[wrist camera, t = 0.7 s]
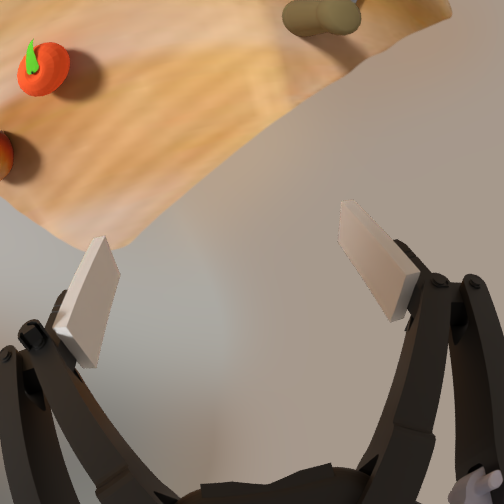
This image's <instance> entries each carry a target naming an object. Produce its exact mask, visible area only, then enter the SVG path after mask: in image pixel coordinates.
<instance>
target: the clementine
mask: <svg viewBox="0 0 504 504" xmlns="http://www.w3.org/2000/svg"><path fill="white" fill-rule="evenodd" d="M33 40H34V39H33ZM33 40H32V41H31V42H30V44H29V46H28V49H27V54H26V55H25V56H24V58H23V60H22V61H21V63H20V65H19V68H18V74H17V78H18V83H19V86H20V88H21V89H22V90H23V91H24V92H25V93H27V94H28V95H31V96H35V97H36V96H44V95H47V94H50V93H51V92H53V91H54V90H56V89H57V88H58V87H59V86H60V85H61V84H62V83H63V81H64V80H65V78H66V77H67V74H68V71H69V67H70V59H69V55H68V52H67V51H66V50H65V48H64V47H62V46H61V45H59V44H57V43H52V42H48V43H43V44H40V45H38V46H35V47H34V48H33Z"/></svg>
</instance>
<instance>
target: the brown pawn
mask: <svg viewBox="0 0 504 504" xmlns="http://www.w3.org/2000/svg"><path fill="white" fill-rule="evenodd" d="M282 18H283V22H284V25H285V27H286V28H287V29H288V30H289V31H290V32H291V33H293V34H295V35H297V36H301V37H308V36H313V35H317V34H321V33H326V32H329V33H332V34H335V35H348V34H351V33H353V32H354V31H356V30H357V29H358V27H359V25H360V23H361V13H360V10H359V8H358V7H357V5H356V4H355V3H354V2H353V1H351V0H294V1H291V2H290V3H288V4H287V5H286V7H285V8H284V10H283V14H282Z"/></svg>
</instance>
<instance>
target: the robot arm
mask: <svg viewBox="0 0 504 504" xmlns="http://www.w3.org/2000/svg"><path fill="white" fill-rule="evenodd" d="M338 243H339V245H340V246H341V248H342V249H343V251H344V252H345V254H346V255H347V257H348V258H349V259H350V261H351V262H352V264H353V265H354V267H355V268H356V270H357V271H358V273H359V274H360V276H361V277H362V279H363V280H364V282H365V283H366V285H367V287H368V288H369V290H370V291H371V293H372V294H373V296H374V297H375V299H376V301H377V302H378V304H379V305H380V307H381V308H382V310H383V312H384V313H385V315H386V317H387V318H388V320H389V322H393V321H396V320H400V319H403V318H404V316H405V313H406V311H407V309H408V311H409V312H410V314H411V316H410V319H409V321H408V324H407V326H406V328H405V331H406V336H405V340H404V344H403V348H402V352H401V355H400V359H399V362H398V366H397V369H396V373H395V376H394V379H393V383H392V386H391V389H390V392H389V395H388V398H387V401H386V404H385V406H384V409H383V412H382V415H381V417H380V420H379V423H378V426H377V428H376V430H375V433H374V435H373V438H372V440H371V442H370V445H369V447H368V449H367V451H366V452H365V454H364V455H363V457H362V459H361V461H360V462H359V464H358V466H357V469H356V470H354V469H350V468H343V467H332V465H331V463H328V464H324V465H320V466H317V467H313V468H309V469H305V470H300V471H298V472H296V473H294V474H291V475H289V476H287V477H285V478H283V479H280V480H278V481H276V482H273V483H271V484H266V485H263V484H250V483H239V482H224V483H210V484H200V485H201V489H199V490H196V491H194V492H191V493H189V494H187V495H186V496H184V497H182V498H179V497H178V496H177V495H176V494H175V493H174V492H173V491H172V490H171V489H169V488H168V487H167V486H166V485H164V484H163V483H162V482H161V481H160V480H159V479H158V478H157V477H156V476H155V475H154V474H153V473H152V472H151V471H150V470H149V469H148V467H147V466H146V465H145V464H144V463H143V462H142V461H141V459H140V458H139V457H138V456H137V455H136V453H135V452H134V451H133V450H132V449H131V447H130V446H129V445H128V444H127V442H126V441H125V440H124V439H123V437H122V436H121V435H120V434H119V432H118V431H117V429H116V428H115V427H114V425H113V424H112V423H111V421H110V420H109V419H108V417H107V416H106V414H105V413H104V411H103V410H102V409H101V407H100V406H99V404H98V403H97V401H96V400H95V398H94V397H93V395H92V393H91V392H90V390H89V389H88V387H87V386H86V384H85V382H84V381H83V379H82V377H81V376H80V374H79V372H78V371H77V370H76V368H75V365H76V361H77V362H78V363H79V364H80V366H81V367H82V368H97V363H98V358H99V353H100V349H101V345H102V341H103V336H104V332H105V328H106V324H107V320H108V317H109V313H110V309H111V306H112V302H113V298H114V295H115V292H116V288H117V285H118V281H119V278H120V272H119V270H118V267H117V265H116V263H115V260H114V257H113V255H112V252H111V250H110V247H109V244H108V242H107V239H106V236H101V237H95V238H93V240H92V242H91V244H90V246H89V247H88V249H87V251H86V253H85V255H84V257H83V259H82V261H81V263H80V265H79V267H78V269H77V271H76V273H75V275H74V278H73V280H72V282H71V284H70V286H69V289H68V290H64V291H63V292H62V293H61V294H60V295H59V297H58V298H57V300H56V303H55V305H54V307H53V309H52V313H51V314H50V316H49V319H48V321H47V323H46V326H45V328H44V327H43V326H42V324H41V323H40V322H39V320H36V319H33V320H30V321H28V322H26V323H25V324H24V325H23V326H22V327H21V329H20V330H19V333H18V339H19V341H20V342H21V343H22V344H23V346H24V347H25V348H26V349H24V350H22V351H19V352H18V351H17V350H16V349H15V347H14V346H12V345H9V346H6V347H4V348H3V349H2V350H1V351H0V440H1V447H2V453H3V459H4V465H5V470H6V475H7V479H8V483H9V487H10V491H11V495H12V499H13V502H14V504H80V502H79V500H78V498H77V495H76V493H75V490H74V488H73V485H72V482H71V480H70V477H69V474H68V471H67V468H66V465H65V462H64V459H63V455H62V452H61V449H60V445H59V441H58V438H57V434H56V430H55V426H54V421H53V417H52V413H51V409H52V412H53V413H54V416H55V418H56V419H57V422H58V424H59V425H60V427H61V430H62V431H63V433H64V435H65V437H66V439H67V441H68V442H69V444H70V446H71V448H72V449H73V451H74V453H75V454H76V456H77V458H78V459H79V461H80V463H81V464H82V465H83V467H84V469H85V470H86V472H87V473H88V475H89V476H90V478H91V479H92V481H93V482H94V484H95V485H96V488H97V489H96V491H95V493H96V496H97V498H98V499H99V501H100V502H101V504H421V503H419V502H417V501H416V498H417V496H418V493H419V491H420V488H421V485H422V483H423V480H424V477H425V475H426V472H427V469H428V466H429V462H430V459H431V456H432V453H433V450H434V446H435V441H436V439H435V435H434V434H433V433H432V430H433V425H434V421H435V417H436V413H437V408H438V404H439V398H440V394H441V389H442V383H443V377H444V371H445V364H446V356H447V349H448V344H449V350H450V357H451V366H452V375H453V386H454V399H455V425H456V426H455V427H456V440H455V472H456V481H457V482H456V483H455V485H454V487H453V488H452V491H451V492H450V493H449V495H448V502H449V503H450V504H504V336H503V332H502V329H501V326H500V322H499V319H498V316H497V313H496V311H495V307H494V305H493V302H492V299H491V296H490V294H489V291H488V288H487V286H486V284H485V282H484V281H483V280H482V279H481V278H480V277H479V276H477V275H473V274H467V275H465V276H464V278H463V281H462V283H452V282H450V281H449V280H448V278H446V277H445V276H443V275H441V274H439V273H431V272H430V271H429V269H428V268H427V267H426V266H425V265H424V264H423V263H422V261H421V260H420V259H419V258H418V257H416V255H415V254H414V253H413V252H412V250H411V249H410V248H408V246H407V245H406V244H404V243H403V242H401V241H399V240H398V239H396V240H392V239H391V238H390V237H389V236H388V235H387V234H386V233H385V231H384V230H383V229H382V228H381V227H380V226H379V225H378V224H377V223H376V222H375V221H374V220H373V219H372V218H371V217H370V216H369V215H368V214H367V213H366V212H365V211H364V210H363V209H362V208H361V207H360V206H359V205H358V204H357V203H356V202H355V201H354V200H345V201H341V212H340V224H339V234H338Z"/></svg>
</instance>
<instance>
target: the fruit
mask: <svg viewBox="0 0 504 504" xmlns="http://www.w3.org/2000/svg"><path fill="white" fill-rule="evenodd" d="M13 157H14V153H13V148H12V145H11V142H10V139H9V138H8V137H7V136H6V135H5V134H4V133H3V131H0V181H1V180H2V179H3V178H4V177H5V176H6V175H8V173H9V172H10V170H11V168H12V166H13Z"/></svg>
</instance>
